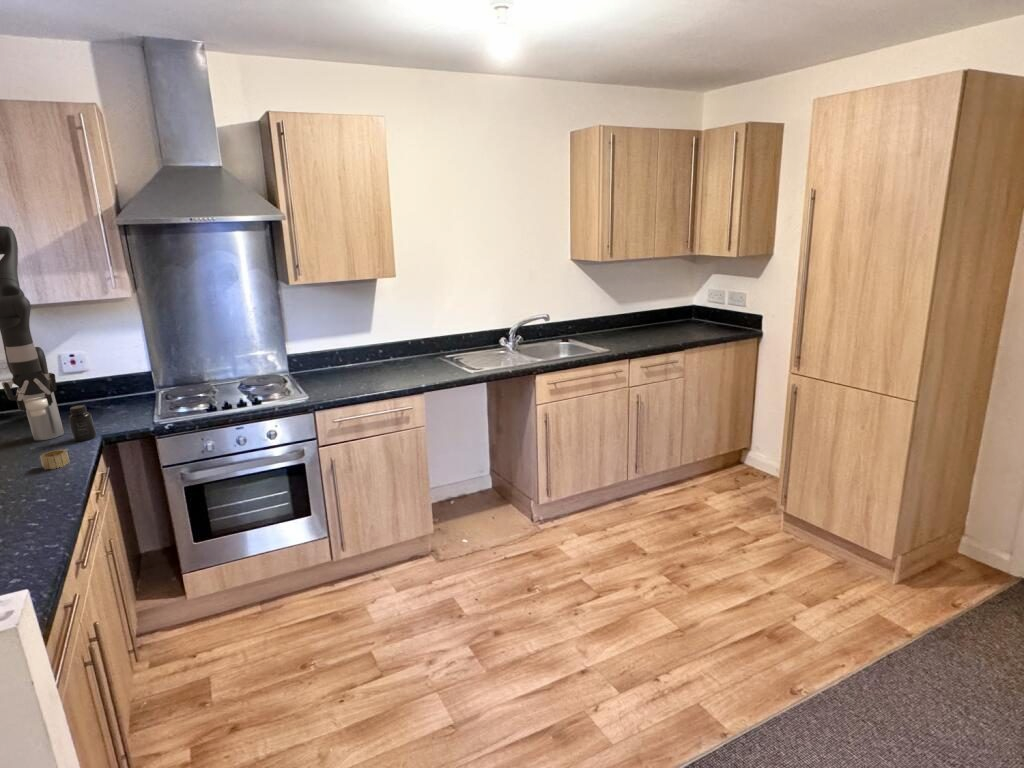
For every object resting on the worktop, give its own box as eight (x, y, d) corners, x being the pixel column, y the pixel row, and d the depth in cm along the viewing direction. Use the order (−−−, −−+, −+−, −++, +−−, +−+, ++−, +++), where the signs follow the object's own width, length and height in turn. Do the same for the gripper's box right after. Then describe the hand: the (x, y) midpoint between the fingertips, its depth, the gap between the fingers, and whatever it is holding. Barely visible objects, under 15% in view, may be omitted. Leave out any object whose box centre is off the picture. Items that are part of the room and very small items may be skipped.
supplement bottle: (100, 434, 227) (93, 403, 224) (89, 441, 221) (81, 409, 217) (81, 435, 227) (74, 404, 224) (69, 442, 220) (61, 410, 217)
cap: (23, 415, 202) (19, 401, 200) (46, 410, 207) (43, 395, 205) (29, 419, 198) (25, 404, 197) (53, 413, 203) (49, 399, 201)
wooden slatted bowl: (40, 466, 199) (37, 454, 198) (65, 459, 205) (62, 447, 203) (47, 471, 195) (44, 459, 194) (72, 463, 200) (69, 452, 199)
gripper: (46, 352, 205) (58, 400, 209) (-8, 362, 194) (6, 412, 199) (53, 355, 200) (66, 404, 205) (-2, 364, 189) (13, 416, 194)
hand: (36, 407), depth 202 cm, fingers closed on cap, 6 cm apart
